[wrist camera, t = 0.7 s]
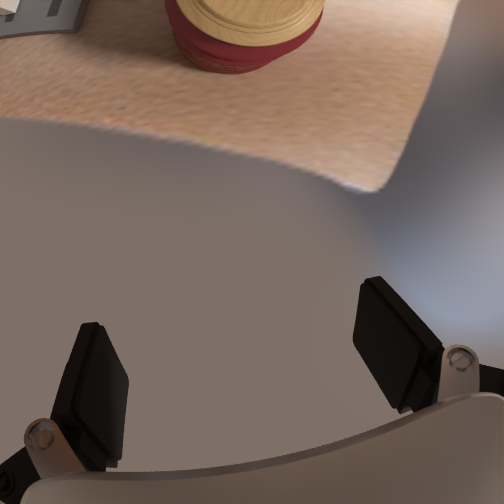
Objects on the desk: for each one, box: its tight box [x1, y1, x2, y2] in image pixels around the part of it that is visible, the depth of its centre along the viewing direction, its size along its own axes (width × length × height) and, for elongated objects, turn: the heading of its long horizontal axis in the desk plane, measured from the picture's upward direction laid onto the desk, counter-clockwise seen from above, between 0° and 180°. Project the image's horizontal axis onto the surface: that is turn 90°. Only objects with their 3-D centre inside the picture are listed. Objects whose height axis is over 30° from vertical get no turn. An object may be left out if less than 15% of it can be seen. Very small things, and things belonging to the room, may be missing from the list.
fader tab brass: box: [0, 0, 20, 15], centre depth 16 cm, size 3×3×5 cm
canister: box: [165, 0, 325, 74], centre depth 20 cm, size 13×13×18 cm
